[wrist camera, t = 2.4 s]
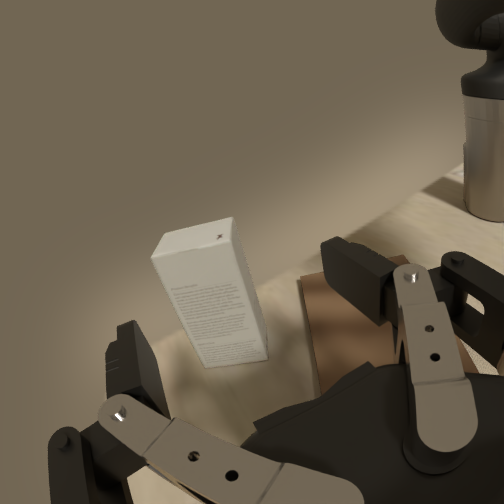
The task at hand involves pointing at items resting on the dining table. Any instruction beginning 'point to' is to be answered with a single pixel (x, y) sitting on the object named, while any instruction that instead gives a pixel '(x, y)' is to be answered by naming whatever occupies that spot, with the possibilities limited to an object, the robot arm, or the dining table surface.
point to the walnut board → (349, 332)
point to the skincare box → (213, 293)
